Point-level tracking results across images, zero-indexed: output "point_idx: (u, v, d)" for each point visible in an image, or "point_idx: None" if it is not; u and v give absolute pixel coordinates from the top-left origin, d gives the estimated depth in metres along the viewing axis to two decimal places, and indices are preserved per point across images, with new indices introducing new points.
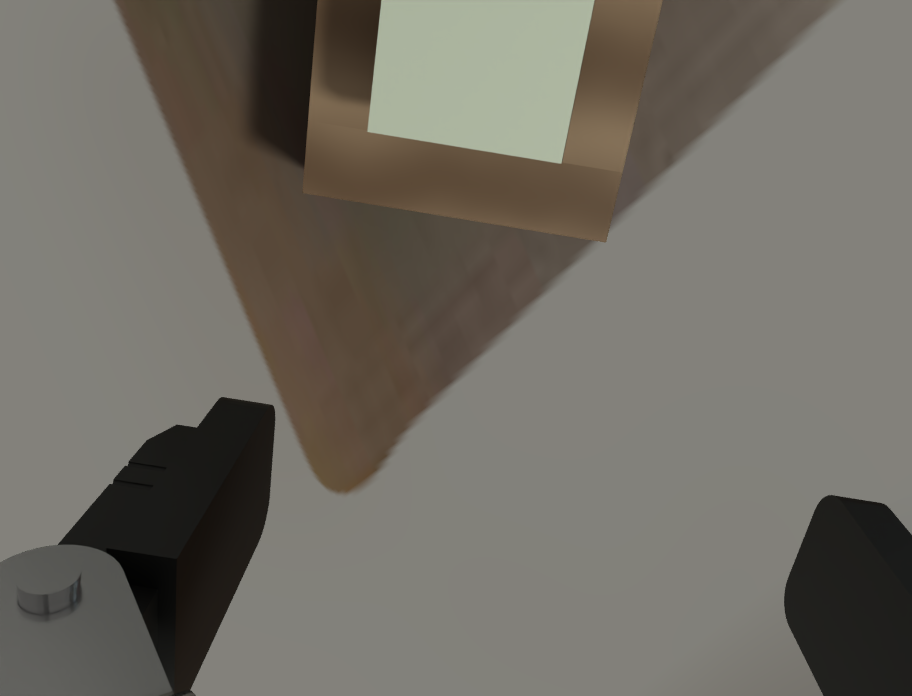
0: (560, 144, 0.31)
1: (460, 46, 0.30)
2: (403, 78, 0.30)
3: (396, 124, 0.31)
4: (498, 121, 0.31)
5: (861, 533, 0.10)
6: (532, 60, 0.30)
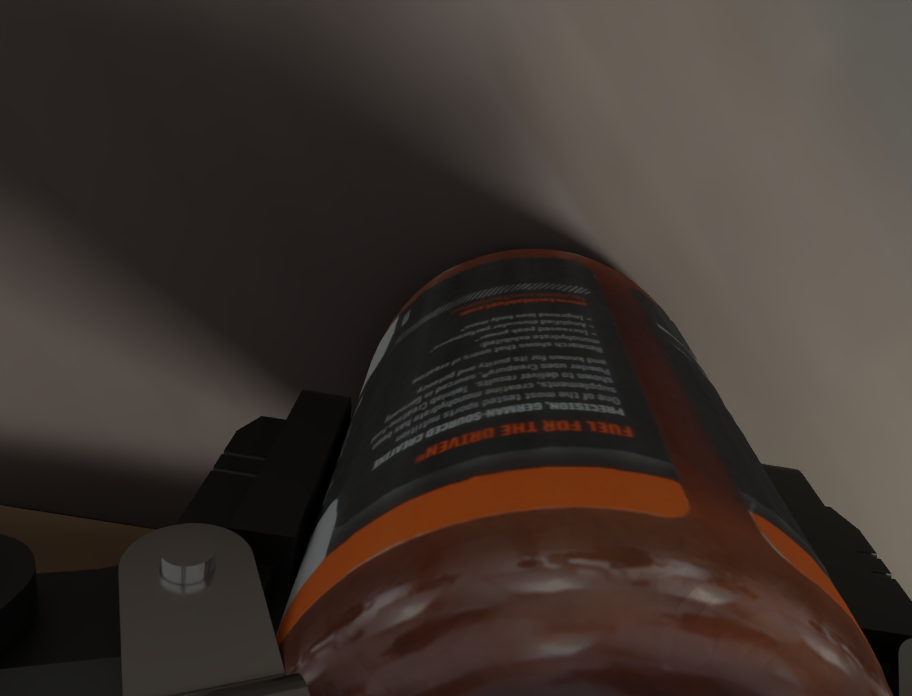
0: None
1: None
2: None
3: None
4: None
5: None
6: None
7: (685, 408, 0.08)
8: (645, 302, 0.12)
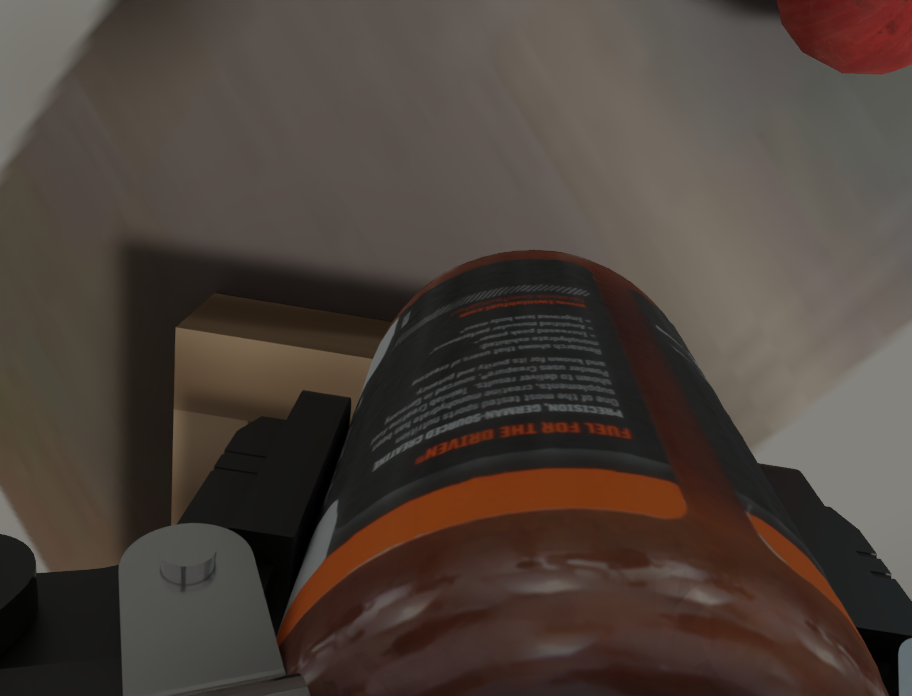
0: None
1: None
2: None
3: None
4: None
5: None
6: None
7: (683, 410, 0.08)
8: (644, 304, 0.12)
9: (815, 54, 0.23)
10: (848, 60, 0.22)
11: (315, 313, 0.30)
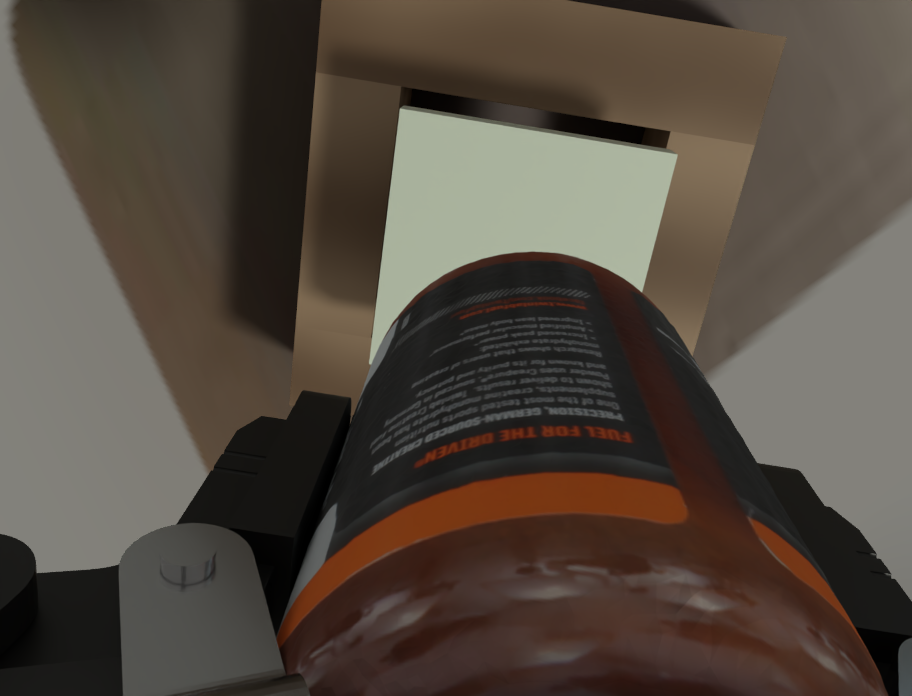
0: None
1: None
2: None
3: None
4: None
5: None
6: None
7: (683, 413, 0.08)
8: (645, 305, 0.12)
9: None
10: None
11: None
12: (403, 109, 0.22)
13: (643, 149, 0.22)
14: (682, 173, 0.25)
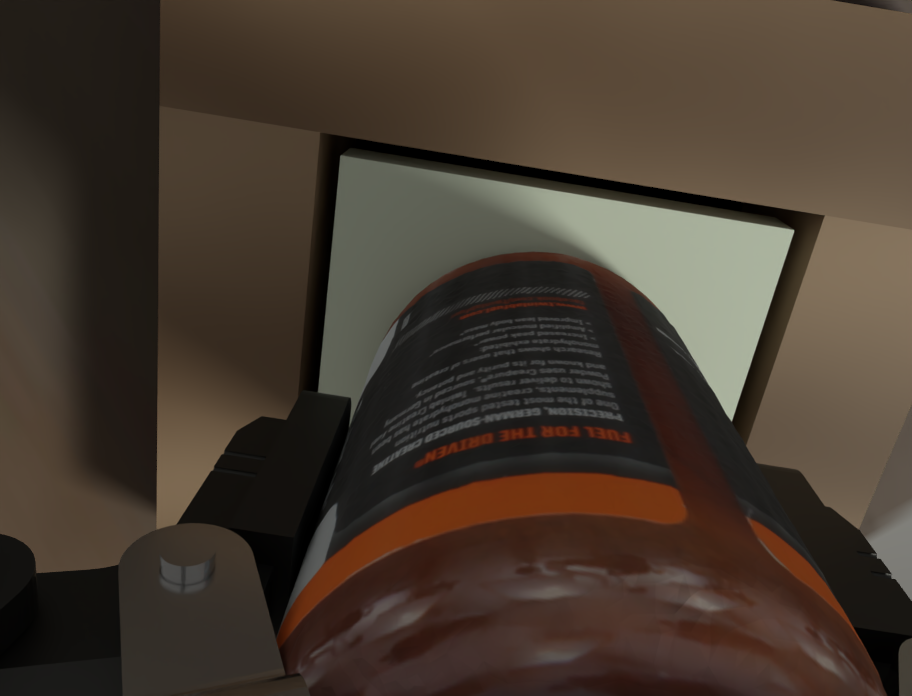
0: None
1: None
2: None
3: None
4: None
5: None
6: None
7: (684, 414, 0.08)
8: (644, 305, 0.12)
9: None
10: None
11: None
12: (346, 157, 0.13)
13: (738, 222, 0.13)
14: (841, 289, 0.13)
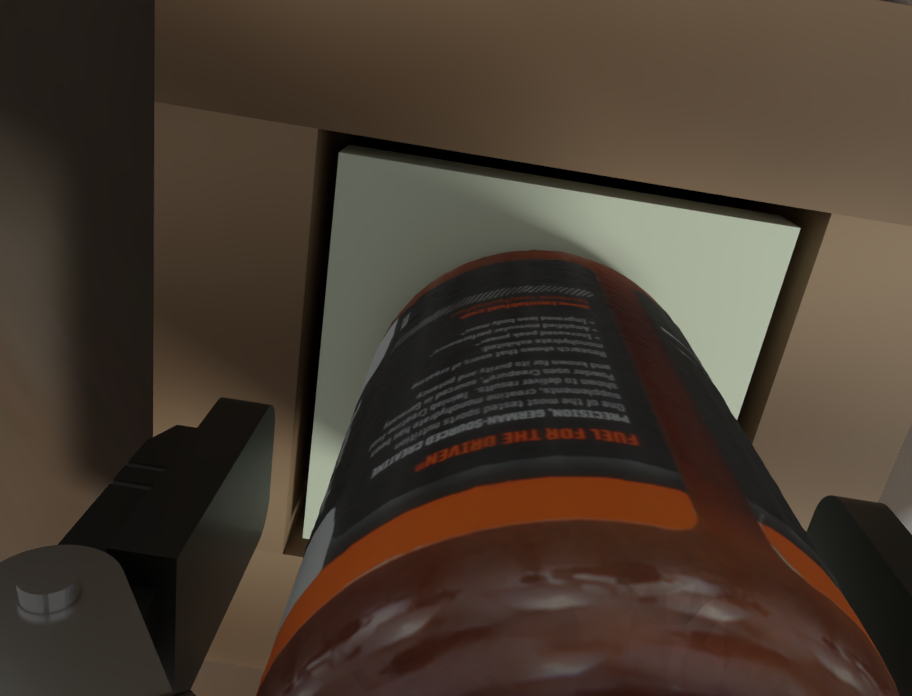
0: None
1: None
2: None
3: None
4: None
5: (861, 533, 0.10)
6: None
7: (692, 414, 0.08)
8: (648, 305, 0.12)
9: None
10: None
11: None
12: (344, 154, 0.13)
13: (743, 219, 0.13)
14: (848, 289, 0.13)
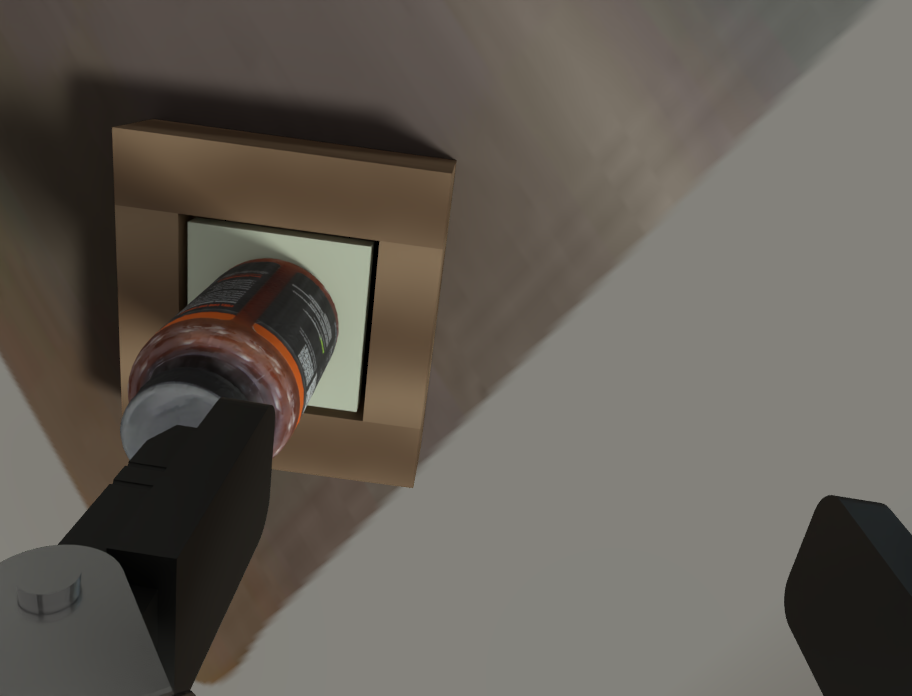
0: (353, 397, 0.36)
1: None
2: None
3: None
4: None
5: (861, 533, 0.10)
6: None
7: (265, 304, 0.28)
8: (298, 277, 0.32)
9: None
10: None
11: (239, 132, 0.35)
12: (190, 222, 0.33)
13: (348, 244, 0.33)
14: (393, 270, 0.33)
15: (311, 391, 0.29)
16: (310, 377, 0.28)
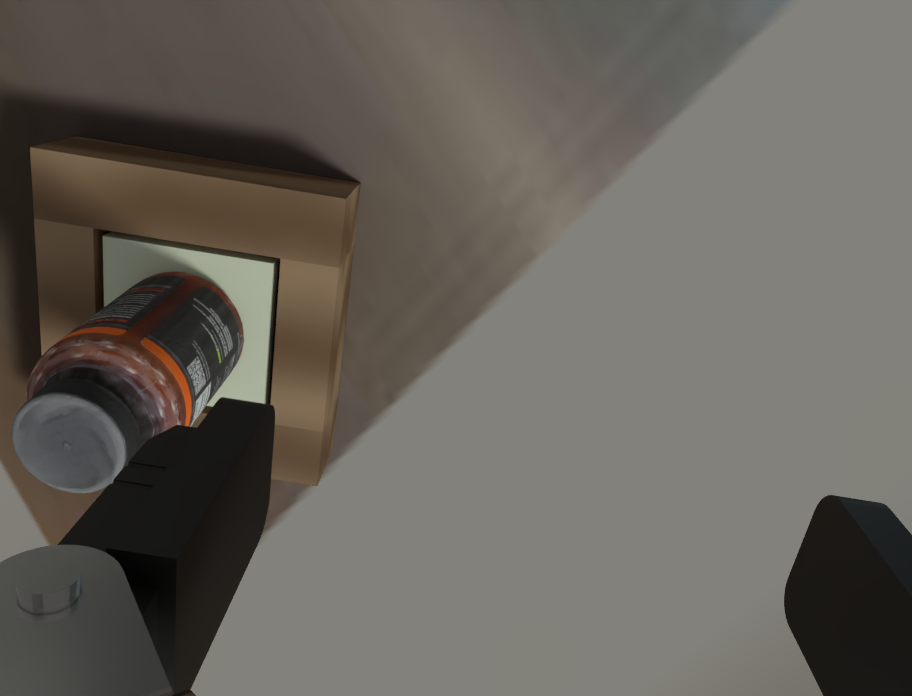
0: (260, 401, 0.38)
1: None
2: None
3: None
4: None
5: (861, 533, 0.10)
6: None
7: (160, 319, 0.31)
8: (201, 291, 0.34)
9: None
10: None
11: (156, 151, 0.37)
12: (105, 236, 0.35)
13: (252, 260, 0.36)
14: (294, 285, 0.36)
15: (203, 399, 0.31)
16: (201, 386, 0.31)
